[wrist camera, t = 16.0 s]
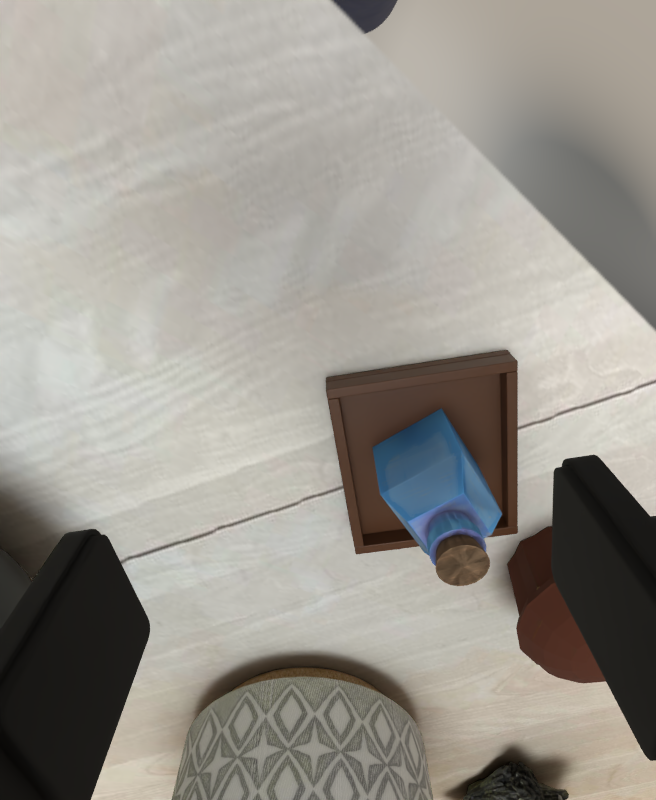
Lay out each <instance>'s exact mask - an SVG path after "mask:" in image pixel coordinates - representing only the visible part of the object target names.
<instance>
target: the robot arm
mask: <svg viewBox="0 0 656 800" xmlns="http://www.w3.org/2000/svg"><path fill="white" fill-rule="evenodd" d="M551 569H552V574H553V578H554V581H555V583H556V586H557V588H558V590H559V591H560V593H561V595H562V597H563V599H564V601H565V603H566V605H567V607H568V609H569V611H570V613H571V615H572V616H573V618H574V620H575V622H576V624H577V626H578V628H579V630H580V632H581V634H582V636H583V638H584V640H585V641H586V643H587V645H588V647H589V649H590V651H591V653H592V655H593V657H594V659H595V661H596V663H597V664H598V666H599V668H600V670H601V672H602V674H603V676H604V678H605V680H606V682H607V684H608V686H609V688H610V689H611V691H612V693H613V695H614V697H615V699H616V701H617V703H618V705H619V707H620V709H621V711H622V713H623V714H624V716H625V718H626V720H627V722H628V724H629V726H630V728H631V730H632V732H633V734H634V736H635V738H636V739H637V741H638V743H639V745H640V747H641V749H642V751H643V752H644V754H645V755H646V757H647V758H648V759H649V760H651V761H653V760H656V516H651V517H650V516H649V515H648V513H647V512H646V511H645V510H644V509H643V508H642V506H641V505H640V504H639V503H638V502H637V501H636V500H635V498H634V497H633V496H632V495H631V494H630V493H629V491H628V490H627V489H626V488H625V487H624V486H623V485H622V483H621V482H620V481H619V480H618V479H617V478H616V476H615V475H614V474H613V473H612V472H611V471H610V470H609V468H608V467H607V466H606V465H605V464H604V463H603V461H602V460H601V459H600V458H599V457H598V456H596V455H589V456H582V457H576V458H569V459H565V460H564V461H563V463H562V467H559V468H555V470H554V483H553V519H552V556H551ZM149 633H150V624H149V620H148V617H147V615H146V613H145V611H144V609H143V607H142V605H141V603H140V601H139V599H138V597H137V595H136V593H135V591H134V589H133V587H132V585H131V583H130V581H129V579H128V577H127V575H126V573H125V571H124V569H123V567H122V565H121V563H120V561H119V559H118V557H117V555H116V553H115V551H114V549H113V547H112V545H111V542H110V540H109V539H108V537H107V536H106V535H101V534H100V532H99V531H97V530H96V529H89V530H83V531H76V532H69V533H67V534H65V535H64V536H63V537H62V538H61V540H60V541H59V543H58V544H57V546H56V547H55V548H54V550H53V551H52V553H51V554H50V556H49V557H48V559H47V560H46V562H45V563H44V565H43V566H42V568H41V569H40V571H39V572H38V574H37V575H36V577H35V578H34V580H33V581H32V583H31V584H30V586H29V587H28V589H27V590H26V592H25V593H24V595H23V596H22V598H21V599H20V601H19V602H18V604H17V605H16V607H15V608H14V610H13V611H12V613H11V614H10V616H9V617H8V619H7V620H6V622H5V623H4V625H3V626H2V628H1V629H0V800H91V797H92V794H93V792H94V789H95V786H96V783H97V780H98V778H99V775H100V772H101V769H102V766H103V764H104V761H105V758H106V755H107V752H108V750H109V747H110V744H111V741H112V739H113V736H114V733H115V730H116V727H117V725H118V722H119V719H120V716H121V713H122V711H123V708H124V705H125V702H126V699H127V697H128V694H129V691H130V688H131V686H132V683H133V680H134V677H135V674H136V672H137V669H138V666H139V663H140V660H141V658H142V655H143V652H144V649H145V646H146V644H147V641H148V638H149Z"/></svg>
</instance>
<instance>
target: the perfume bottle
mask: <svg viewBox="0 0 656 800" xmlns="http://www.w3.org/2000/svg"><path fill="white" fill-rule="evenodd" d="M372 448H373V454H374V460H375V466H376V472H377V478H378V484H379V490H380V495H381V496H382V498H383V499H384V500H385V501H386V503H387V504H388V505H389V507H390V508H391V509H392V511H393V512H394V513H395V515H396V516H397V517H398V518H399V520H400V521H401V522H402V524H403V525H404V526H405V528H406V529H407V530H408V531H409V533H410V534H411V535H412V537H413V538H414V539H415V541H416V542H417V543H418V545H419V546H420V547H421V548H422V550H423V551H424V552H425V553H426V554H428V555H429V556H430V559H431V561H432V563H433V564H434V565H435V566H436V572H437V574H438V577H439V578H440V579H441V580H442V581H444V582H445V583H448V584H450V585H455V586H464V585H469V584H472V583H475V582H477V581H478V580H480V579H482V578H483V577H484V575H485V574H486V573H487V571H488V569H489V567H490V560H489V557H488V555H487V553H486V544H485V541H484V538H486V537H488V536H490V535H492V533H493V531H494V529H495V527H496V525H497V523H498V521H499V519H500V517H501V515H502V512H501V510H500V508H499V506H498V504H497V502H496V500H495V498H494V496H493V494H492V492H491V490H490V488H489V486H488V484H487V482H486V480H485V478H484V476H483V474H482V472H481V470H480V468H479V466H478V464H477V463H476V461H475V460H474V458H473V457H472V455H471V453H470V452H469V450H468V449H467V447H466V446H465V444H464V443H463V441H462V439H461V438H460V436H459V435H458V433H457V432H456V430H455V428H454V427H453V425H452V424H451V422H450V421H449V419H448V418H447V416H446V414H445V413H444V411H443V410H442V408H441V409H439V410H437V411H436V412H434V413H432V414H430V415H429V416H427V417H425V418H423V419H422V420H420V421H418V422H416V423H414V424H413V425H411V426H409V427H407V428H406V429H404V430H402V431H400V432H399V433H397V434H395V435H393V436H391V437H390V438H388V439H386V440H384V441H383V442H381V443H379V444H377V445H375V446H374V447H372Z"/></svg>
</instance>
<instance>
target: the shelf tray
mask: <svg viewBox="0 0 656 800" xmlns="http://www.w3.org/2000/svg"><path fill="white" fill-rule="evenodd" d="M326 392H327V398H328V404H329V409H330V415H331V420H332V426H333V431H334V437H335V442H336V448H337V453H338V459H339V464H340V470H341V475H342V481H343V486H344V492H345V497H346V503H347V508H348V514H349V519H350V525H351V530H352V536H353V541H354V547H355V552H356V554H362V553H370V552H378V551H386V550H393V549H401V548H409V547H417V546H419V545H418V543H417V542H416V541H415V539H414V538H413V537H412V535H411V534H410V533H409V531H408V530H407V529H406V528H405V526H404V525H403V524H402V522H401V521H400V520H399V518H398V517H397V516H396V515H395V513H394V512H393V511H392V509H391V508H390V507H389V505H388V504H387V503H386V501H385V500H384V499H383V498H382V496H381V495H380V490H379V484H378V478H377V472H376V466H375V460H374V454H373V448H372V447H374V446H375V445H377V444H379V443H381V442H383V441H384V440H386V439H388V438H390V437H391V436H393V435H395V434H397V433H399V432H400V431H402V430H404V429H406V428H407V427H409V426H411V425H413V424H414V423H416V422H418V421H420V420H422V419H423V418H425V417H427V416H429V415H430V414H432V413H434V412H436V411H437V410H439V409H441V408H442V410H443V411H444V413H445V414H446V416H447V418H448V419H449V421H450V422H451V424H452V425H453V427H454V428H455V430H456V432H457V433H458V435H459V436H460V438H461V439H462V441H463V443H464V444H465V446H466V447H467V449H468V450H469V452H470V453H471V455H472V457H473V458H474V460H475V461H476V463H477V464H478V466H479V468H480V470H481V472H482V474H483V476H484V478H485V480H486V482H487V484H488V486H489V488H490V490H491V492H492V494H493V496H494V498H495V500H496V502H497V504H498V506H499V508H500V510H501V512H502V515H501V517H500V519H499V521H498V523H497V525H496V527H495V529H494V531H493V533H492V535H490V536H488V537H494V536H502V535H509V534H517V533H518V526H517V360H516V359H515V358H514V357H513V356H512V355H511V354H510V353H509V351H508V350H504V351H497V352H490V353H484V354H477V355H471V356H464V357H458V358H451V359H445V360H438V361H432V362H425V363H419V364H412V365H405V366H399V367H392V368H386V369H379V370H373V371H366V372H360V373H353V374H347V375H340V376H333V377H327V378H326Z"/></svg>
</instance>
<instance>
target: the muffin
mask: <svg viewBox="0 0 656 800" xmlns="http://www.w3.org/2000/svg"><path fill="white" fill-rule="evenodd" d="M551 556H552V527H547V528H545V529H544V530H542V531H540V532H539V533H537V534H536V535H534V536H532V537H529V538H527V539H525V540H523V541H521V542H520V543H519V546H518V548H517V550H516V552H515V554H514V555H513V557H512V558H511V560H510V561H509V562H508V564H507V565H508V569H509V574H510V578H511V582H512V586H513V590H514V595H515V599H516V603H517V607H518V612H519V616H520V617H519V619H518V623H517V628H516V629H517V634H518V640H519V645H520V649H521V650H522V651H523V652H524V653H525V654H526V655H527V656H528V657H529V658H531V659H532V660H533V661H534V662H535V663H536V664H538V665H540V666H541V667H542V668H543V669H544V670H545V671H547V672H548V673H549V674H551V675H554V676H556V677H558V678H562V679H566V680H570V681H574V682H578V683H592V682H604V681H606V680H605V678H604V676H603V674H602V672H601V670H600V668H599V666H598V664H597V663H596V661H595V659H594V657H593V655H592V653H591V651H590V649H589V647H588V645H587V643H586V641H585V640H584V638H583V636H582V634H581V632H580V630H579V628H578V626H577V624H576V622H575V620H574V618H573V616H572V615H571V613H570V611H569V609H568V607H567V605H566V603H565V601H564V599H563V597H562V595H561V593H560V591H559V590H558V588H557V586H556V583H555V581H554V578H553V574H552V569H551Z"/></svg>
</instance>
